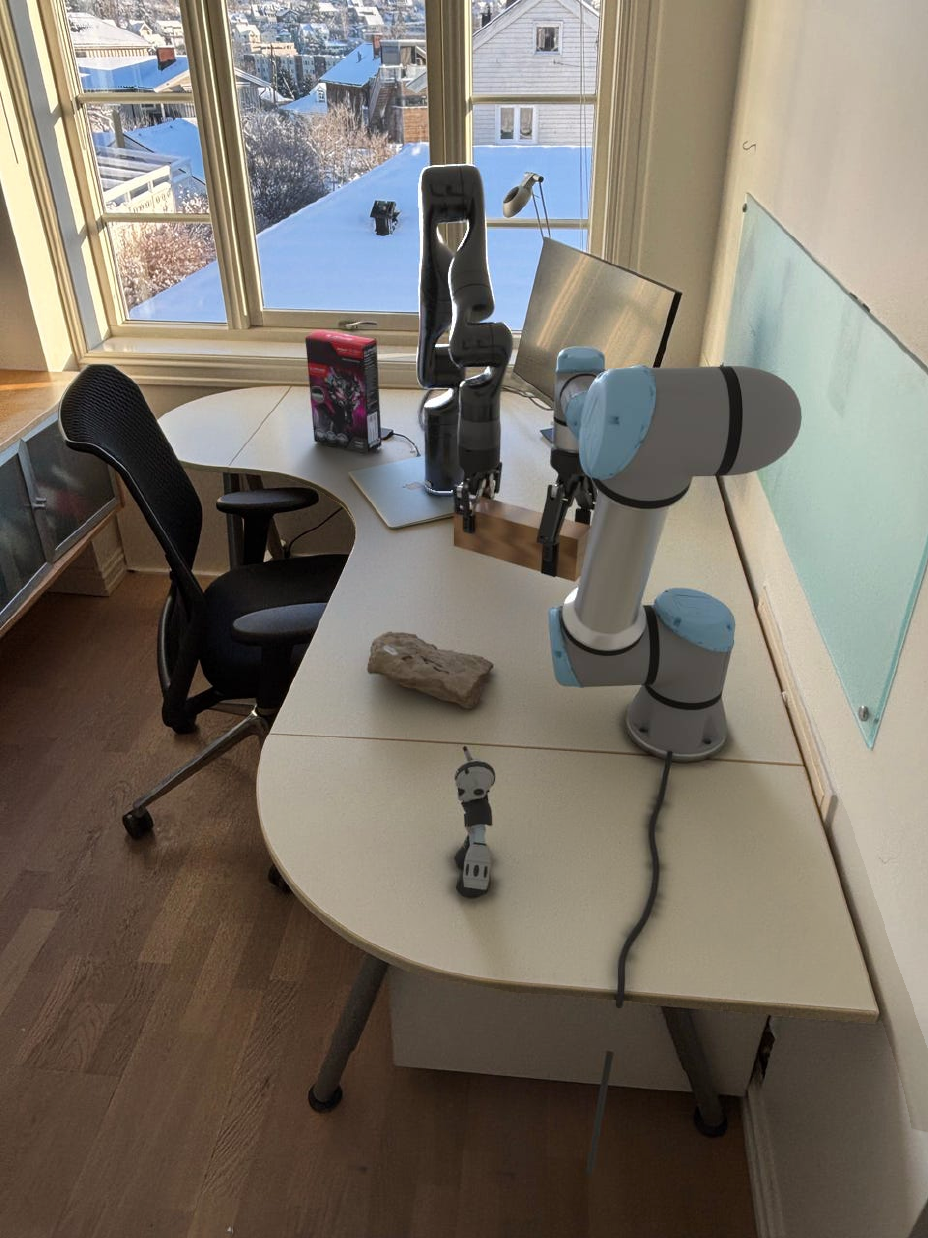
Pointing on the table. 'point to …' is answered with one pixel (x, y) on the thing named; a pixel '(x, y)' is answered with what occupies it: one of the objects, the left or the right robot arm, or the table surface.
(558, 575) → the box
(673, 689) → the right robot arm
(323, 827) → the table surface
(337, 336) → the graphics card box
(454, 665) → the stone
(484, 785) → the robot
